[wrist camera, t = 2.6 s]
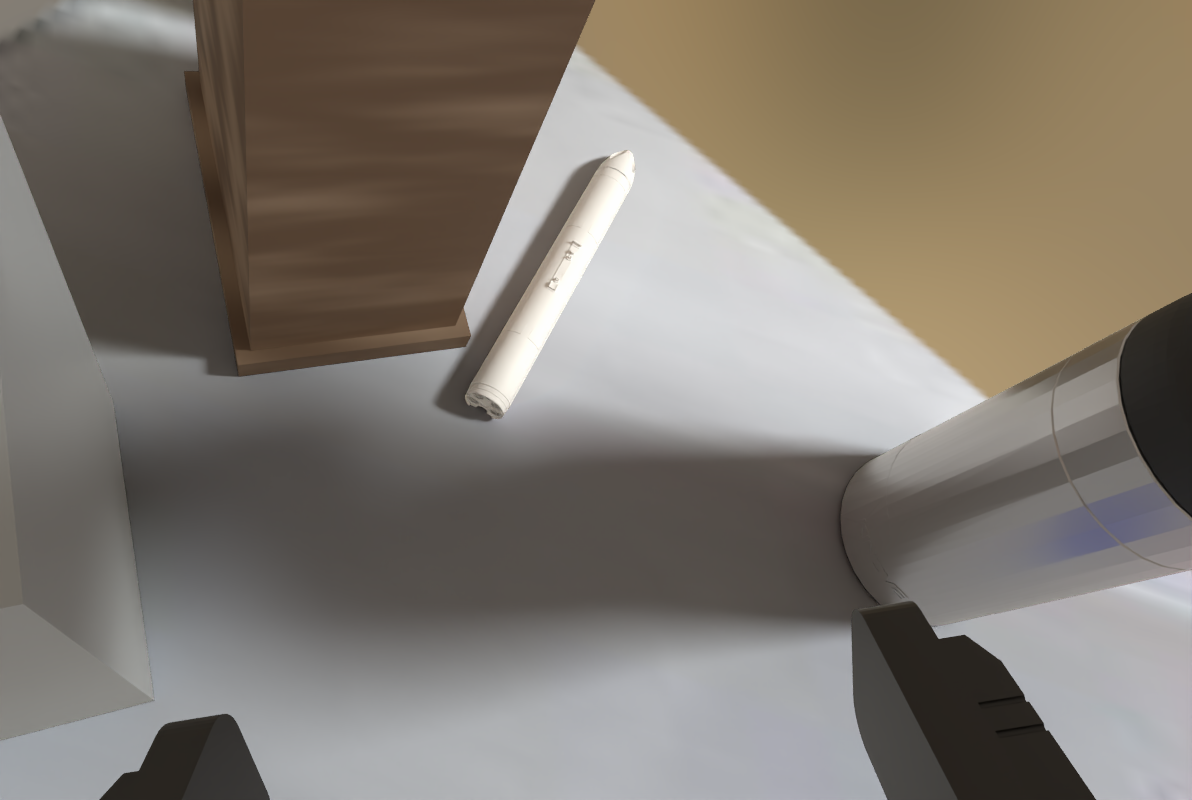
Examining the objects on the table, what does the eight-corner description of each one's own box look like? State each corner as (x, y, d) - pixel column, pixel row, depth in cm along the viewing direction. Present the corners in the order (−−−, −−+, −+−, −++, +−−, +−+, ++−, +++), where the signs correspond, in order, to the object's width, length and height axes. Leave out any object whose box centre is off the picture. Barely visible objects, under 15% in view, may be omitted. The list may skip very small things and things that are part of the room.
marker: (607, 152, 50) (622, 126, 48) (638, 171, 51) (654, 146, 49) (459, 403, 42) (470, 383, 40) (498, 425, 42) (510, 407, 40)
